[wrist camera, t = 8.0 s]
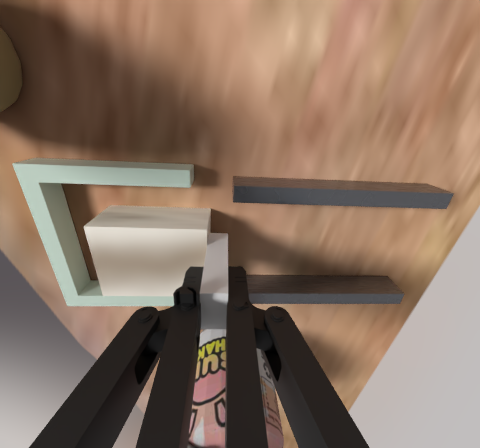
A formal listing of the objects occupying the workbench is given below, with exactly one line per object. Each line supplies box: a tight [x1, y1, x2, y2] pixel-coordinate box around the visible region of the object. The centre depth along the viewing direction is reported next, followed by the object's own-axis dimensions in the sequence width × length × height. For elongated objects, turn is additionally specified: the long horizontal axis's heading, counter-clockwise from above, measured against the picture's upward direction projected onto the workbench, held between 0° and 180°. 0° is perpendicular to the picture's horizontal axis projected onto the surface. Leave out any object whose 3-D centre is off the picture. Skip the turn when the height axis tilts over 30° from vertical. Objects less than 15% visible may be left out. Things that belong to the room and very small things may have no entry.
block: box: [84, 205, 211, 296], centre depth 18 cm, size 6×8×4 cm
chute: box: [232, 176, 454, 304], centre depth 19 cm, size 11×16×2 cm
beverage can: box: [187, 329, 284, 448], centre depth 21 cm, size 9×8×12 cm
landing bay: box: [12, 158, 194, 306], centre depth 18 cm, size 12×11×2 cm
